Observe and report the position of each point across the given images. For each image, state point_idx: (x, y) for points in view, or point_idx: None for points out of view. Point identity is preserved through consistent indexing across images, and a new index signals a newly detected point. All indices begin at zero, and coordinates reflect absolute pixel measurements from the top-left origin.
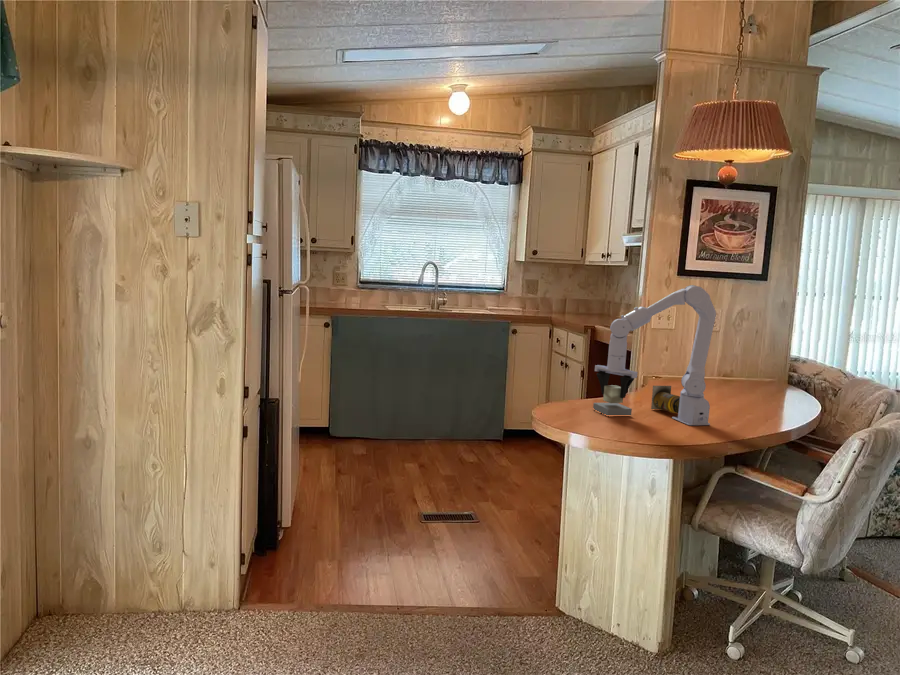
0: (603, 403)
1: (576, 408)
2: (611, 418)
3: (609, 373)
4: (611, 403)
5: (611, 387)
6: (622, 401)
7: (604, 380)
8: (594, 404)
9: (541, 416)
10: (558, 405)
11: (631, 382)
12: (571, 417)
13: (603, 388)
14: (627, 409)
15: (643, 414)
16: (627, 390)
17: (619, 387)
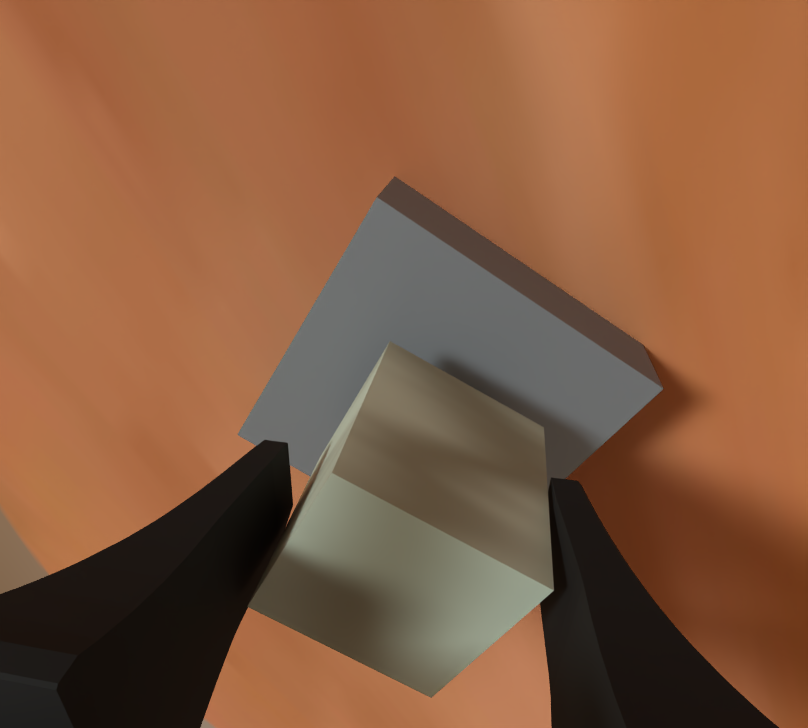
0: (311, 387)
1: (153, 429)
2: None
3: (85, 692)
4: (363, 312)
5: (391, 660)
6: (542, 441)
7: (198, 676)
8: (260, 437)
9: (207, 713)
10: (22, 441)
11: (736, 708)
12: (312, 654)
13: (260, 574)
14: (618, 423)
15: (760, 112)
16: (621, 555)
17: (482, 604)
